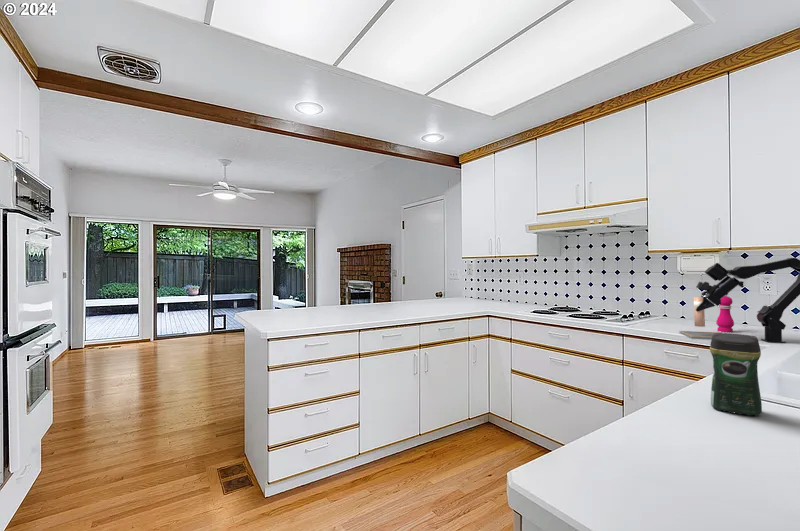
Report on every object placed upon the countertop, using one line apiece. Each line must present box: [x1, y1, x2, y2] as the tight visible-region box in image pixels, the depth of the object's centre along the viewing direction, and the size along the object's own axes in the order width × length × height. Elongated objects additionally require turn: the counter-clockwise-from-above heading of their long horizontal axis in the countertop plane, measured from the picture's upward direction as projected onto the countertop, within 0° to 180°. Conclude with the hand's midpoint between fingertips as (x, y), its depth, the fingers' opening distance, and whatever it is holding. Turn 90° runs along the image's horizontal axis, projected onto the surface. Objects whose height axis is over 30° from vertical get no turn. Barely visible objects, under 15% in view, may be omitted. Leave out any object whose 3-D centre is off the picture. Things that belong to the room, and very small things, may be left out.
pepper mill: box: [716, 295, 735, 333], centre depth 209 cm, size 7×7×20 cm
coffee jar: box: [709, 332, 763, 416], centre depth 98 cm, size 10×8×19 cm
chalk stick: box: [693, 296, 706, 328], centre depth 194 cm, size 4×4×14 cm
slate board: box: [678, 330, 722, 340], centre depth 195 cm, size 16×18×1 cm
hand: (695, 310), depth 195 cm, fingers closed on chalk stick, 4 cm apart
